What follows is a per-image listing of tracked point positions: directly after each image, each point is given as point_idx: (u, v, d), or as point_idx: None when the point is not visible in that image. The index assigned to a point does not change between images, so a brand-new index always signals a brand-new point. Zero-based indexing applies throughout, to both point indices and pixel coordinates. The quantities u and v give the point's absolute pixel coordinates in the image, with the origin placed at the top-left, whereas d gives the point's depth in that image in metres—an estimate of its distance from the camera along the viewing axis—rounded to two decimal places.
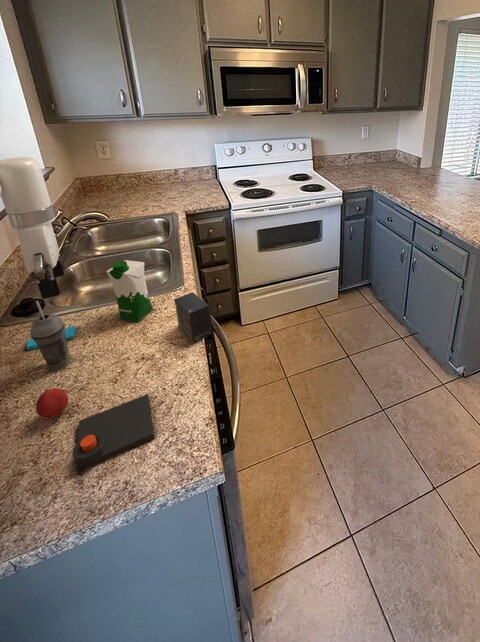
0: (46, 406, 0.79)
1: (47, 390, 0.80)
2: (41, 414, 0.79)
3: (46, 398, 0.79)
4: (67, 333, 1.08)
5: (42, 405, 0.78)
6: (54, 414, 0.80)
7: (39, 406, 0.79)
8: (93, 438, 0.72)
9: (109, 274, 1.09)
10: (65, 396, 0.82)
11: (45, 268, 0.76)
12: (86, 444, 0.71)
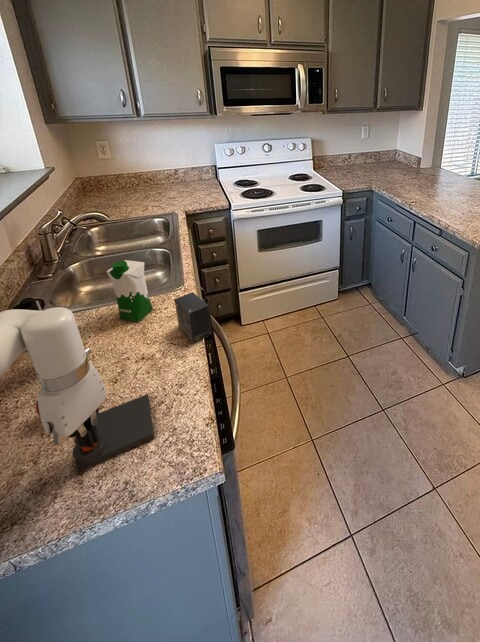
0: None
1: None
2: None
3: None
4: None
5: None
6: None
7: None
8: None
9: (109, 274, 1.09)
10: None
11: None
12: (87, 447, 0.71)
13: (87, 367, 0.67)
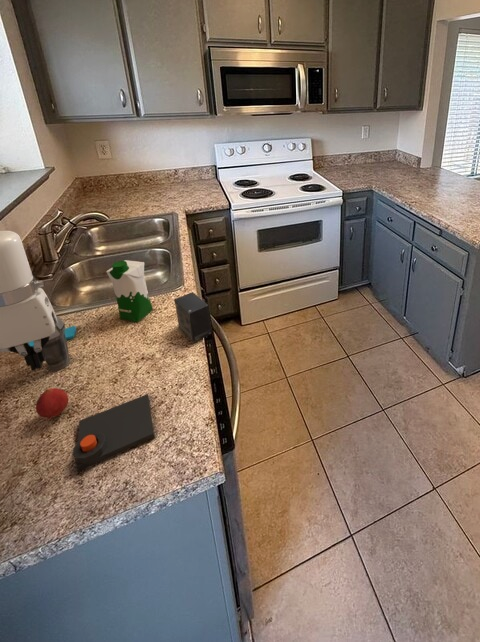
0: (46, 406, 0.79)
1: (47, 390, 0.80)
2: (41, 414, 0.79)
3: (46, 397, 0.79)
4: (67, 333, 1.08)
5: (42, 405, 0.78)
6: (54, 414, 0.80)
7: (39, 406, 0.79)
8: (93, 438, 0.72)
9: (109, 274, 1.09)
10: (65, 396, 0.82)
11: None
12: (86, 444, 0.71)
13: (20, 297, 0.69)
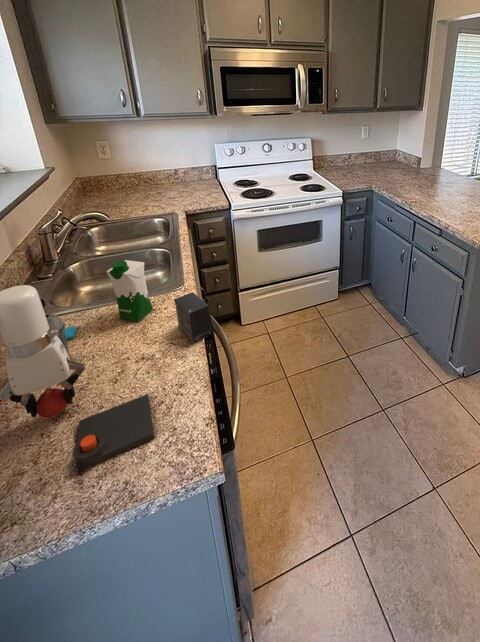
0: (46, 406, 0.79)
1: (47, 390, 0.80)
2: (41, 414, 0.79)
3: (46, 397, 0.79)
4: (67, 333, 1.08)
5: (42, 405, 0.78)
6: (54, 414, 0.80)
7: (39, 406, 0.79)
8: (93, 438, 0.72)
9: (109, 274, 1.09)
10: None
11: None
12: (86, 444, 0.71)
13: (38, 347, 0.74)
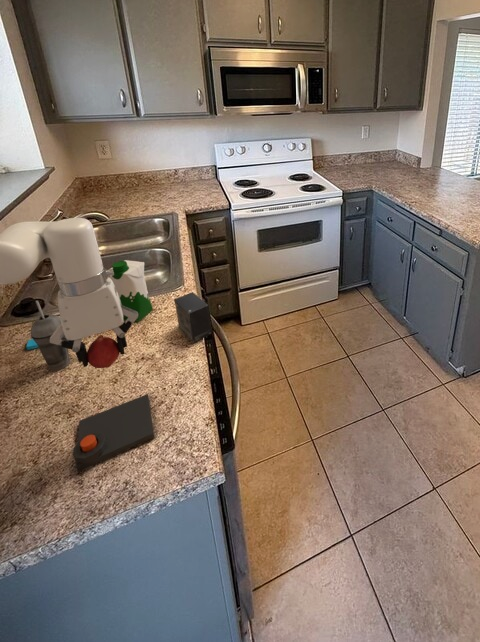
0: (98, 354, 0.72)
1: (99, 337, 0.73)
2: (93, 363, 0.72)
3: (98, 345, 0.72)
4: None
5: (94, 353, 0.72)
6: (107, 364, 0.73)
7: (91, 354, 0.72)
8: (93, 438, 0.72)
9: None
10: (117, 345, 0.75)
11: None
12: (86, 444, 0.71)
13: (93, 286, 0.67)
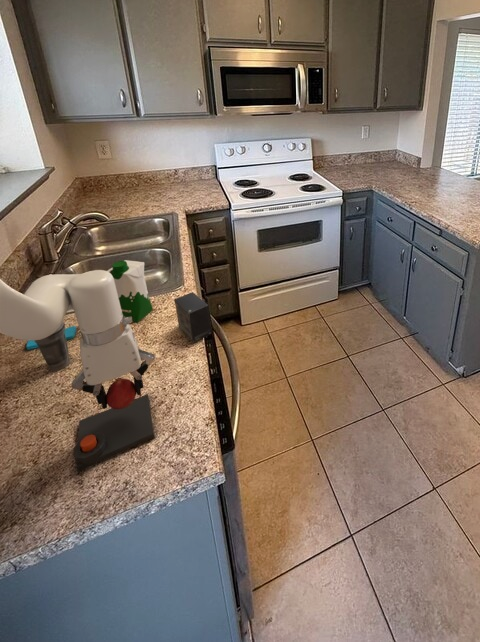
0: (117, 396, 0.75)
1: (117, 380, 0.76)
2: (112, 405, 0.75)
3: (117, 388, 0.76)
4: (67, 333, 1.08)
5: (113, 396, 0.75)
6: (125, 405, 0.76)
7: (110, 397, 0.75)
8: (93, 438, 0.72)
9: None
10: (134, 387, 0.79)
11: None
12: (86, 444, 0.71)
13: (114, 335, 0.70)
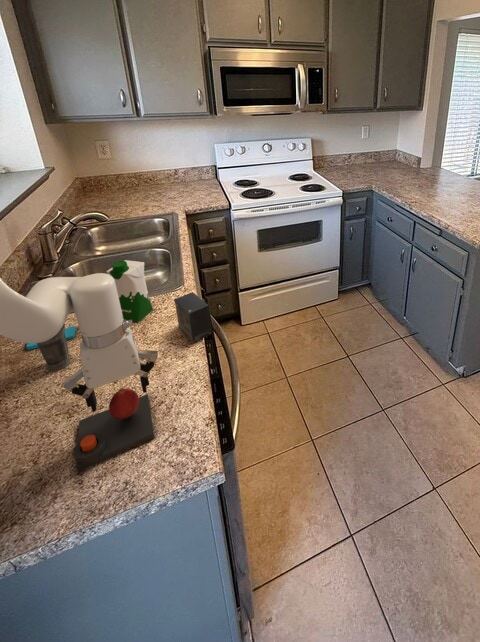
0: (120, 406, 0.76)
1: (120, 390, 0.77)
2: (115, 415, 0.76)
3: (120, 398, 0.77)
4: (67, 333, 1.08)
5: (116, 406, 0.76)
6: (127, 415, 0.77)
7: (113, 407, 0.76)
8: (93, 438, 0.72)
9: (109, 274, 1.09)
10: (137, 397, 0.80)
11: None
12: (86, 444, 0.71)
13: (114, 338, 0.71)
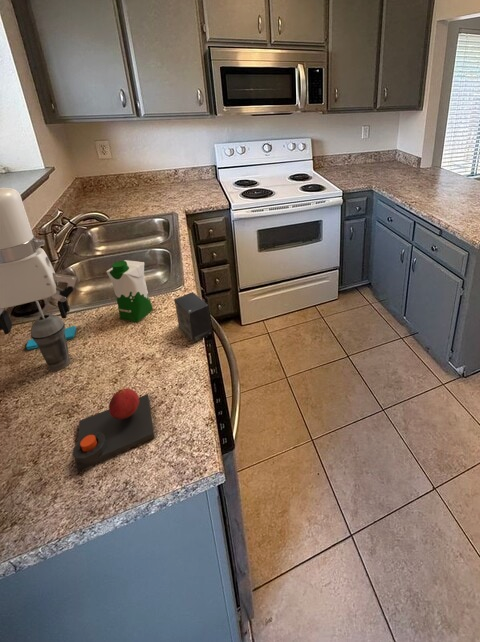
0: (120, 406, 0.76)
1: (120, 390, 0.77)
2: (115, 415, 0.76)
3: (120, 398, 0.77)
4: (67, 333, 1.08)
5: (116, 406, 0.76)
6: (127, 415, 0.77)
7: (113, 407, 0.76)
8: (93, 438, 0.72)
9: (109, 274, 1.09)
10: (137, 397, 0.80)
11: None
12: (86, 444, 0.71)
13: (20, 254, 0.68)
